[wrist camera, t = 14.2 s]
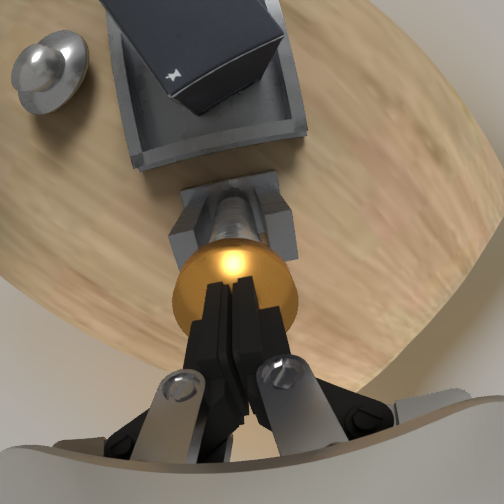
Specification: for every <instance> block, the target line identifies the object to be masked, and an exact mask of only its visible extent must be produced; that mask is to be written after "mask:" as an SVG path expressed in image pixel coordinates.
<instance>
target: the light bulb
mask: <svg viewBox="0 0 504 504" xmlns="http://www.w3.org/2000/svg"><path fill="white" fill-rule="evenodd" d="M247 276H252V277H253V281H254V286H255V290H256V295H257V299H258V304H259V308H260V309H264V308H269V307H274V306H279V307H280V311H281V315H282V319H283V323H284V327H285V332H287V331H288V330H289V329H290V327H291V325H292V324H293V322H294V320H295V317H296V314H297V311H298V294H297V289H296V287H295V284H294V281H293V279H292V276H291V274H290V271H289V268H288V267H287V265H286V263H285V262H284V260H283V259H282V258H281V257H280V256H279V255H278V254H277V253H276V252H275V251H274V250H272V249H271V248H270V247H268V246H266V245H264V244H262V243H261V242H260V238H259V234H258V230H257V225H256V221H255V217H254V213H253V209H252V207H251V205H250V204H249V203H248V202H247V201H246V200H244V199H242V198H240V197H229V198H226V199H224V200H222V201H221V202H220V203H219V204H218V205H217V207H216V210H215V214H214V218H213V222H212V227H211V231H210V236H209V240H208V244H206V245H204V246H202V247H200V248H199V249H198V250H196V251H195V252H194V253H193V254H192V255H191V256H190V257H189V258H188V259H187V260H186V262H185V263H184V265H183V267H182V269H181V271H180V274H179V277H178V279H177V282H176V285H175V288H174V292H173V298H172V307H173V313H174V316H175V319H176V321H177V323H178V325H179V326H180V328H181V329H182V331H183V332H184V333H185V334H186V335H187V336H188V337H189V333H190V327H191V323H192V321H195V320H201V319H202V315H203V308H204V302H205V295H206V289H207V284H210V283H216V282H221V281H222V282H223V284H224V285H226V284H229V287H230V290H231V294H232V288H233V283H236V282H238V278H242V277H247Z"/></svg>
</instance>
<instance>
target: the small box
mask: <svg viewBox="0 0 504 504" xmlns="http://www.w3.org/2000/svg"><path fill="white" fill-rule="evenodd" d="M99 1H100V2H101V4H102V5H103V6H104V8H105V9H106V11H107V12H108V13H109V15H110V16H111V18H112V19H113V21H114V22H115V24H116V25H117V26H118V28H119V29H120V31H121V32H122V33H123V35H124V36H125V37H126V39H127V40H128V41H129V43H130V44H131V46H132V47H133V49H134V50H135V52H136V53H137V54H138V56H139V57H140V59H141V61H142V62H143V63H144V65H145V66H146V68H147V69H148V70H149V72H150V73H151V75H152V76H153V78H154V79H155V80H156V82H157V83H158V85H159V86H160V88H161V89H162V90H163V92H164V93H165V95H166V96H167V97H168V98H170V99H171V100H173V101H175V102H176V103H178V104H180V105H181V106H183V107H185V108H187V109H188V110H190V111H191V112H192V113H193V114H195V115H196V116H201V115H202V114H204V113H206V112H207V111H208V110H209V109H210V108H212V107H215V106H216V105H217V104H219V103H220V102H222V101H224V100H225V99H227V98H229V97H230V96H233V95H235V94H236V93H237V92H239V91H241V90H245V89H246V88H248V87H249V86H251V85H252V84H254V83H255V82H257V81H259V80H261V79H262V76H263V74H264V72H265V70H266V68H267V66H268V65H269V63H270V61H271V59H272V57H273V55H274V54H275V52H276V50H277V48H278V46H279V44H280V42H281V41H282V39H283V38H284V36H285V33H284V31H283V30H282V29H281V27H280V26H279V25H278V23H277V22H276V21H275V19H274V18H273V17H272V16H271V14H270V13H269V12H268V11H267V10H266V8H265V7H264V6H263V5H262V4H261V2H260V1H259V0H99Z"/></svg>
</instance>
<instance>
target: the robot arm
mask: <svg viewBox="0 0 504 504" xmlns="http://www.w3.org/2000/svg"><path fill="white" fill-rule="evenodd" d="M249 404H250V406H251V409H252V411H253V414H256V417H257V420H258V422H259V424H260V425H262V426H263V427H265V428H267V429H268V430H270V431H272V432H273V435H274V438H275V441H276V444H277V447H278V450H279V453H280V457H274V458H266V459H259V460H249V461H241V462H240V461H239V462H230V456H231V450H232V444H233V434H232V433H233V432H234V431H235V430H236V429H237V428H238V427H239V425H243V424H244V416H246V415H249ZM0 504H504V396H500V395H496V396H484V397H477V398H473V399H472V397H471V396H470V394H469V393H467V392H466V391H465V390H462V389H458V388H456V389H449V390H444V391H440V392H436V393H431V394H427V395H422V396H417V397H412V398H406V399H401V400H396V401H395V404H388V405H386V404H384V403H382V402H380V401H377V400H374V399H371V398H369V397H366V396H363V395H360V394H357V393H355V392H352V391H349V390H346V389H344V388H341V387H338V386H336V385H333V384H331V383H328V382H326V381H323V380H321V379H318V378H316V377H315V376H314V374H313V372H312V371H311V369H310V367H309V365H308V364H307V362H306V361H305V360H304V359H302V358H300V357H299V356H295V355H292V354H291V352H290V348H289V344H288V340H287V336H286V332H285V327H284V323H283V319H282V315H281V311H280V307H279V306H274V307H269V308H264V309H260V308H259V304H258V299H257V295H256V290H255V286H254V281H253V277H252V276H247V277H242V278H238V282H236V283H233V288H232V294H231V290H230V287H229V284H226V285H224V284H223V282H222V281H221V282H216V283H210V284H207V289H206V295H205V302H204V308H203V315H202V319H201V320H195V321H192V323H191V327H190V333H189V338H188V343H187V349H186V354H185V360H184V365H183V369H181V370H177V371H174V372H172V373H171V374H169V375H167V376H166V377H165V378H164V379H163V380H162V381H161V383H160V385H159V387H158V389H157V392H156V394H155V396H154V399H153V401H152V404H151V406H150V408H149V409H148V410H146V411H145V412H144V413H142V414H141V415H139V416H138V417H136V418H135V419H134V420H132V421H131V422H130V423H128V424H127V425H125V426H124V427H122V428H121V429H120V430H118V431H117V432H115V433H114V434H113V435H111V436H110V437H109V438H108V439H106V438H105V437H97V438H88V439H76V440H75V439H74V440H62V441H58V442H57V443H55V444H54V445H53V447H49V446H41V445H21V446H14V447H10V448H7V449H5V450H3V451H1V452H0Z"/></svg>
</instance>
